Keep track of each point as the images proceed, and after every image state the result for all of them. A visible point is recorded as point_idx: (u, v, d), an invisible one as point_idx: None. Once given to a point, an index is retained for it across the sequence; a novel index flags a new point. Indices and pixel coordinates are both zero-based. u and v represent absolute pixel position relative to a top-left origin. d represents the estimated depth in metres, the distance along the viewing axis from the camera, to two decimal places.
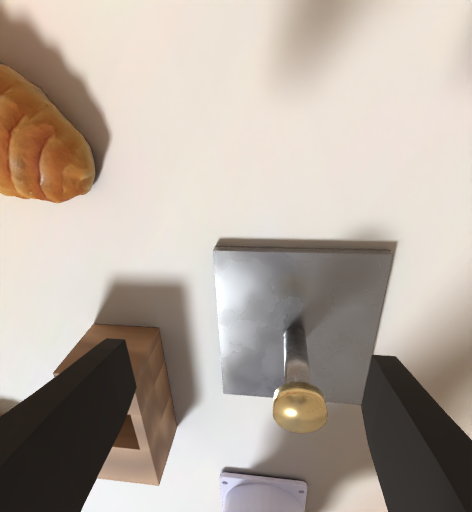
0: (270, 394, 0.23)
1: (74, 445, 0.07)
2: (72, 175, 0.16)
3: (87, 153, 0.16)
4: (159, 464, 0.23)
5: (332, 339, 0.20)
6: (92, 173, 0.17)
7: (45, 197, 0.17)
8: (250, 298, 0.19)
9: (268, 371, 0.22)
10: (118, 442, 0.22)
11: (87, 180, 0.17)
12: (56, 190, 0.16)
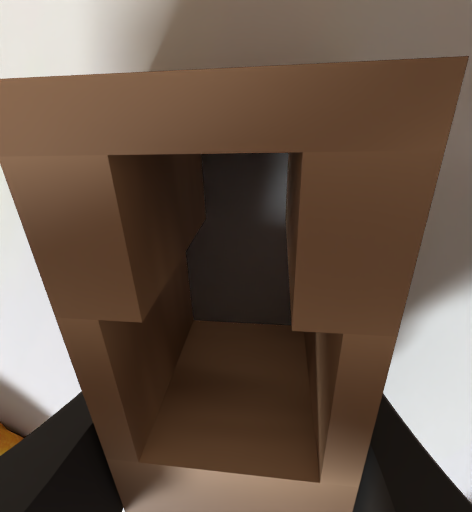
0: None
1: None
2: None
3: None
4: None
5: None
6: None
7: None
8: None
9: None
10: (232, 457, 0.06)
11: None
12: None
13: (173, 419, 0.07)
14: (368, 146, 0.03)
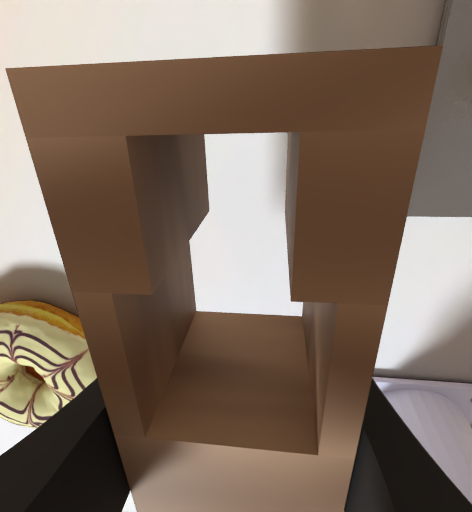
0: None
1: (115, 450, 0.07)
2: None
3: None
4: None
5: None
6: None
7: None
8: None
9: None
10: (234, 432, 0.07)
11: None
12: None
13: (177, 399, 0.07)
14: (358, 125, 0.04)
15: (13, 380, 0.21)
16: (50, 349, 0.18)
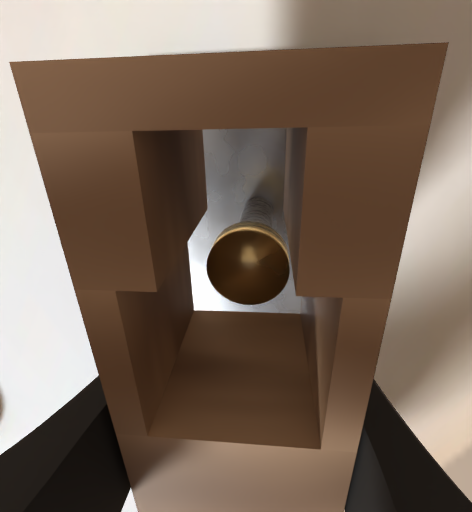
0: (232, 308, 0.18)
1: (114, 449, 0.07)
2: None
3: None
4: None
5: None
6: None
7: None
8: None
9: None
10: (237, 428, 0.07)
11: None
12: None
13: (179, 398, 0.07)
14: (364, 121, 0.04)
15: None
16: None
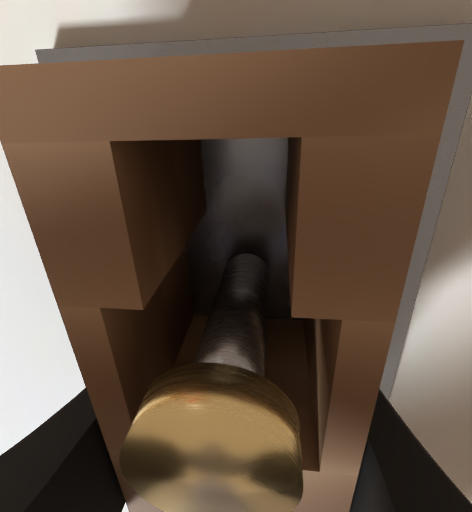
0: None
1: None
2: None
3: None
4: None
5: None
6: None
7: None
8: None
9: None
10: None
11: None
12: None
13: None
14: (366, 130, 0.03)
15: None
16: None
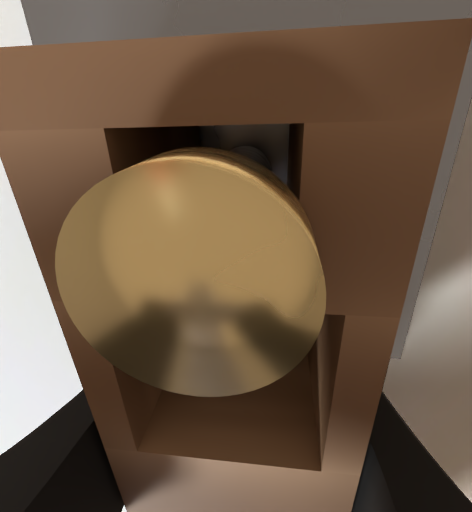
0: None
1: None
2: None
3: None
4: None
5: None
6: None
7: None
8: None
9: None
10: (232, 445, 0.06)
11: None
12: None
13: (172, 409, 0.07)
14: (372, 116, 0.03)
15: None
16: None
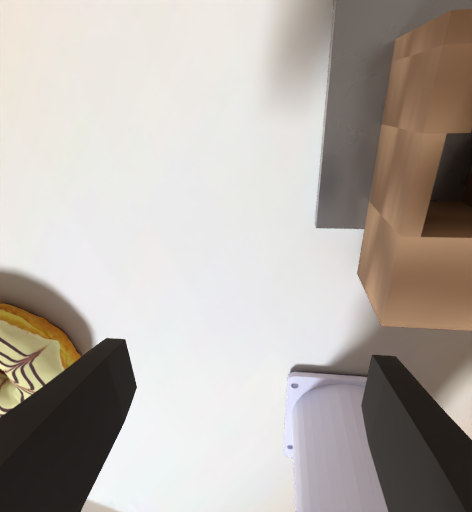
0: None
1: (74, 445, 0.07)
2: None
3: None
4: None
5: None
6: None
7: None
8: (389, 26, 0.13)
9: None
10: (471, 234, 0.12)
11: None
12: None
13: None
14: None
15: None
16: (9, 346, 0.20)
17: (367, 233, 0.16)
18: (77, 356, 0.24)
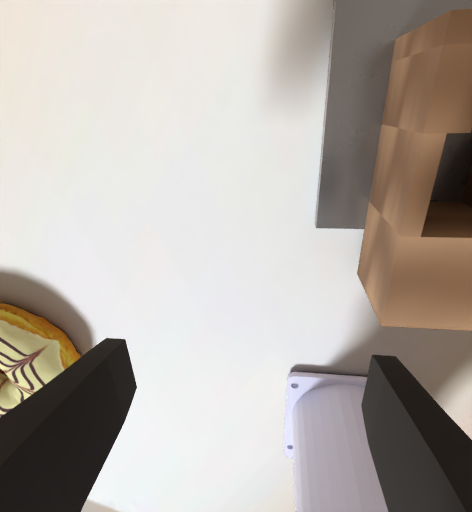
0: None
1: (74, 445, 0.07)
2: None
3: None
4: None
5: None
6: None
7: None
8: (389, 26, 0.13)
9: None
10: (471, 234, 0.12)
11: None
12: None
13: None
14: None
15: None
16: (9, 346, 0.20)
17: (367, 233, 0.16)
18: (77, 356, 0.24)
